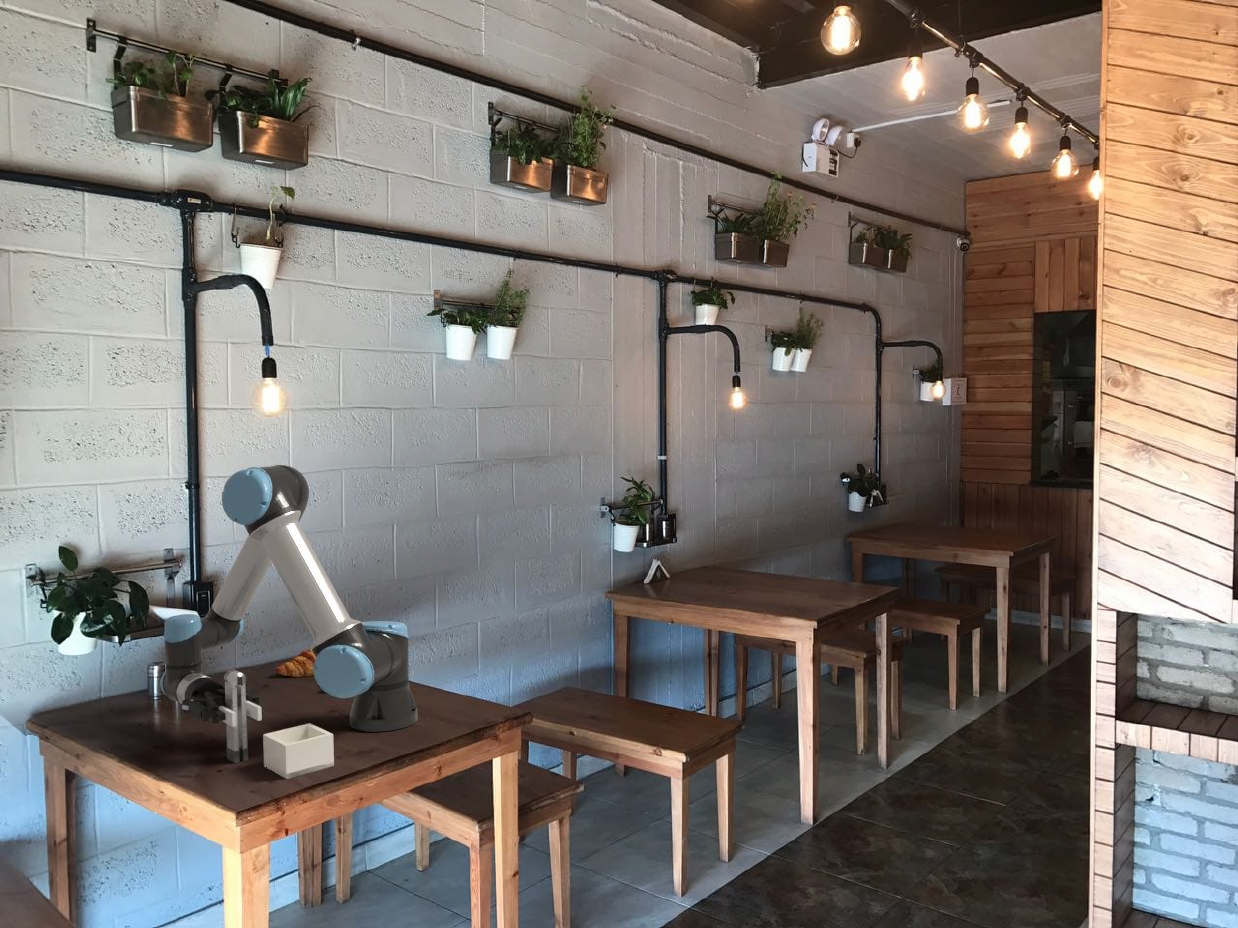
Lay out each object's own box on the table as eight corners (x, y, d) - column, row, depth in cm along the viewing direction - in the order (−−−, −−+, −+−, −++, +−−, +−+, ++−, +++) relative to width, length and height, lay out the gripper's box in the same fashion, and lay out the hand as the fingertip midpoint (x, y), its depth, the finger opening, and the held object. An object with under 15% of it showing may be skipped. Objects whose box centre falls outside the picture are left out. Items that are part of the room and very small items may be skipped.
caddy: (310, 753, 207) (309, 723, 207) (334, 765, 200) (333, 733, 200) (264, 766, 200) (263, 734, 200) (286, 778, 193) (285, 745, 193)
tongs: (240, 755, 207) (238, 668, 206) (251, 760, 204) (248, 672, 203) (226, 758, 205) (223, 670, 204) (236, 764, 202) (233, 675, 201)
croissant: (349, 676, 282) (344, 649, 285) (361, 666, 274) (356, 638, 277) (273, 687, 269) (269, 659, 272) (284, 677, 262) (279, 648, 265)
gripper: (241, 702, 223) (289, 725, 207) (160, 719, 211) (203, 745, 194) (240, 669, 223) (288, 689, 206) (158, 684, 211) (202, 707, 194)
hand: (247, 716), depth 200 cm, fingers open, 4 cm apart
